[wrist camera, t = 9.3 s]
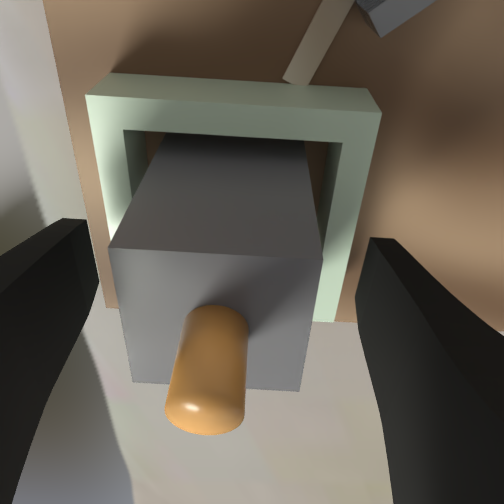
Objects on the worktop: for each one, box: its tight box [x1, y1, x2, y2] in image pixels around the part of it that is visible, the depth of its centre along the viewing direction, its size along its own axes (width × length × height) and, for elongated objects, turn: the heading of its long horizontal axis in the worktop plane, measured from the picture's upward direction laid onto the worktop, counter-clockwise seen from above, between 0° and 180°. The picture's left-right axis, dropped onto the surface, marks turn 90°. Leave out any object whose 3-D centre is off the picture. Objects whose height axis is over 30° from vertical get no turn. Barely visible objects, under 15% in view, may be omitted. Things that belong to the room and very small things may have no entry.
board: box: [43, 0, 504, 331], centre depth 13 cm, size 17×16×1 cm
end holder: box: [85, 73, 382, 322], centre depth 13 cm, size 7×7×2 cm
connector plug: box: [108, 132, 323, 435], centre depth 11 cm, size 4×4×8 cm
